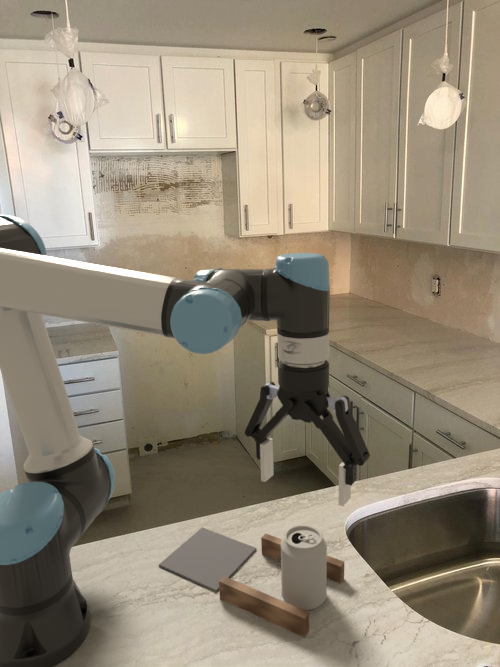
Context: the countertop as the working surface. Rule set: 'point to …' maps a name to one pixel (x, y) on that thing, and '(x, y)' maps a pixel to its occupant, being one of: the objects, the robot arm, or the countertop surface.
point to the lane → (272, 606)
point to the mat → (208, 558)
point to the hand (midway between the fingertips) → (304, 489)
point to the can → (304, 567)
